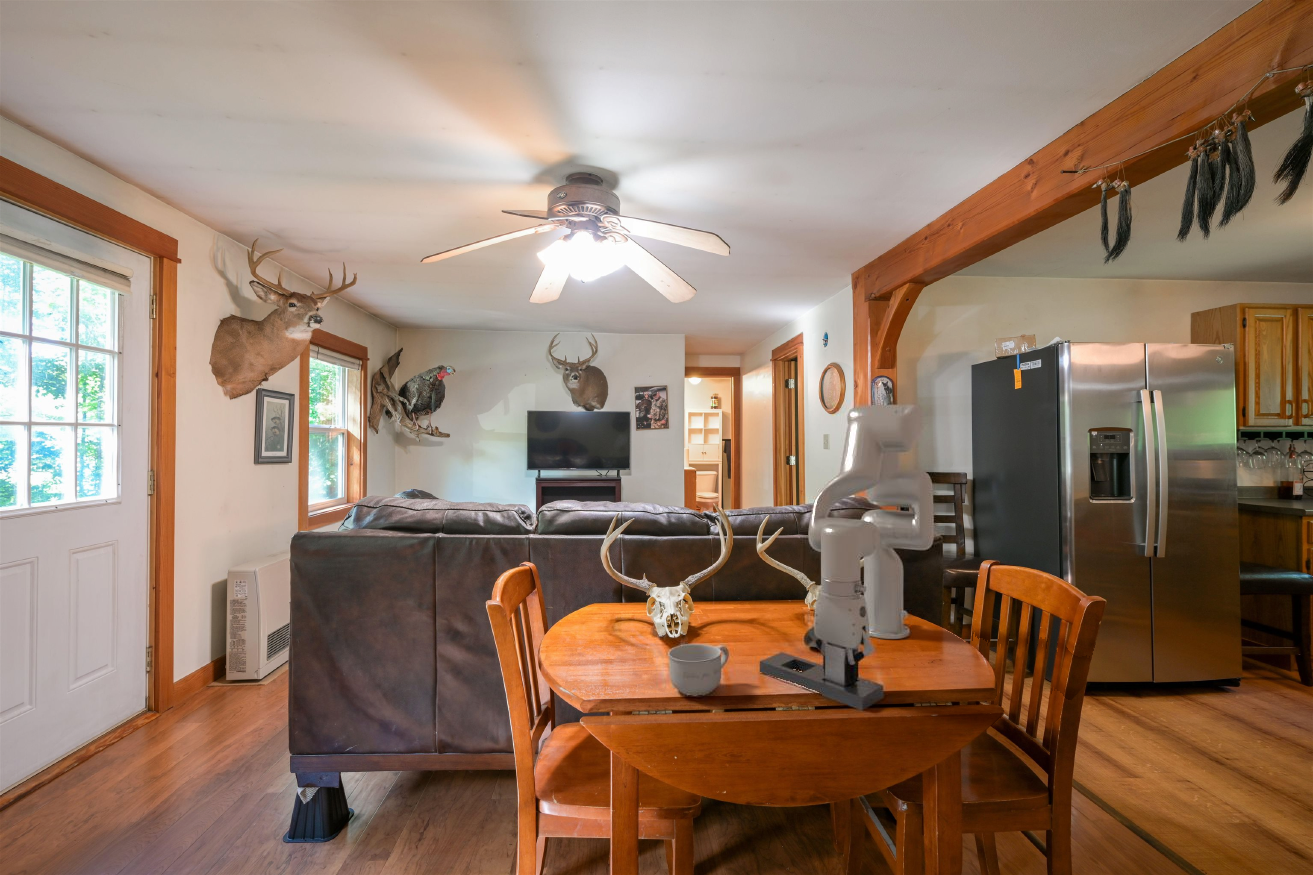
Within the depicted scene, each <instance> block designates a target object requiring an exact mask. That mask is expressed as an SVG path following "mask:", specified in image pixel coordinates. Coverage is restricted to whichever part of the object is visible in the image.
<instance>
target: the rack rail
mask: <svg viewBox="0 0 1313 875" xmlns="http://www.w3.org/2000/svg"><path fill="white" fill-rule="evenodd" d="M793 669H796V670H799V671H802V673H801V672H798V671H795V670H793ZM760 672H762V673H764V674H766V675H765V676H767V675H770V676H773V677H776V678H780V679H783V680H786V681H790V682H792V683H796V684H798V685H801V686H804V687H806V688H808V689H812V690H815V691H817V692H819V693H821V694H822V697H824V698H826V699H830V700H833V701H835V702H838V703H840V704H844V705H846V706H849V707H852V708H855V709H857V710H860V711H864V710H866V709H868V708H869V707H871V706H872V705H874V704H876V703H878V702H879V701H880V700H882V699H884V684H881V683H878V682H875V681H873V680H869V679H866V678H862V677H860V676H858V679H857V681H855V683H854V684H852V685H850V686H848V687H847V688H844V687H841V686H838V685H835V684H832V683H829V682H826V681H825V676H824V669H823V664H820V663H817V662H814V661H810V660H808V659H804V658H801V657H799V656H796V655H791V654H789V653H786V652H783V651H781V652H779V653H776V654H774V655H771V656H770V657H766V658H765V659H762V660H760V661H759V673H760ZM762 673H761V674H762ZM764 674H763V675H764ZM770 676H769V677H770Z"/></svg>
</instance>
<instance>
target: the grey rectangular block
mask: <svg viewBox="0 0 1313 875" xmlns="http://www.w3.org/2000/svg"><path fill="white" fill-rule="evenodd" d="M847 663H849V661H848V655H847V650H846V648H845V647H842V646H838V645H835V644H832V643H826V644H825V681H826V682H829V683H832V684H835V685H838V686H841V687H844V688H847V687H848V686H850V685H852V684H854V683H855V682H853V683H851V684H847V683H846V664H847Z"/></svg>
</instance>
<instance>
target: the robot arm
mask: <svg viewBox="0 0 1313 875" xmlns="http://www.w3.org/2000/svg"><path fill="white" fill-rule="evenodd" d="M846 418H847V429H846V432H845V433H846V434H845V439H844V446H843V449H842V450H843V452H842V458H841V463H840V470H839V472H838V474H837V475H836V476H835V477H833V478H832V479H831V480H829V481H828V483H826V484H825V485H824V487H823V488H822V489H821V490H820V491H819V493H818V494H817V496H816V497H815V500H814V501H813V504H812V507H811V513H810V519H809V525H808V534H807V535H808V543H809V545H810V547H812V549H814V550H815V551H817V552H819V553H820V589H821V590H819V591H818V593H817V596H816V603H815V610H814V625H813V626H812V627H813V628H812V627H811V628H812V629H811V631H810V632H809V636H810V637H811V638H812V639H813V641H814V642H816V645H817V646H818V648H819V649H820V650H819V649H818V648H817V649H818V650H819V651H820V652H819V653H820V655H821V656H822V665H823V669H824V676H825V644H826V643H832V644H835V645H838V646H842V647H845V648H846V650H847V655H848V661H849V663H847V664H846V683H847V684H851V683H853V682H855V681H857V679H858V677H859V663H860V662H861V661H862V660H863V659H864V658H866V657H868V656H869V655H872V654H874V653H875V652H876V650H875V647H874V645H873V643H872V642H871V640H870V638H871V637H873V638H877V639H883V640H885V639H886V640H898V639H899V640H900V639H904V638H906V637H909V636H910V628H909V627H908V626H907V625H904V619H907V618H908V616H909V614H908V612H907V610H904V565H903V561H902V560H901V558H900V556H899V555H898V554H897V553H896V551H895V549H904V550H915V551H926V550H928V549H930V548H931V547H932V545H933V543H934V539H935V538H934V537H935V524H934V523H935V521H934V520H935V519H934V518H935V516H934V490H933V482H932V479H931V476H930V475H929V473H927V472H926V471H924V470H920V469H907V468H906V469H903V468H901V467H900V453H907V452H910V451H912V450H913V448H914V447H915V445H916V443H917V442H918V440H919V439H920V437H921V435H922V432H923V431H924V430H923V429H924V421H925V420H924V415H923V412H922V410H921V408H920V407H918V405H916V404H915V405H914V404H866V405H859V406H855V407H851V408H850V409H849V410H848V412H847V417H846ZM863 492H865V496H866V500H867V501H868V502H869V503H870V504H872V505H875V506H876V505H877V506H881V507H882V506H884V507H897V508H908V509H909V508H910V510H911V511H909V510H908V511H906V510H897V509H895V510H894V509H883V508H881V509H878V508H877V509H871V510H868V511H865V512H864V514H862V516H861V519H854V518H853V519H851V518H846V517H845V518H841V517H830V516H828V515H829V513H830V511H831V510H832V508H833V507H834V506H835V505H837V503H839V502H840V501H842V500H844V499H846V498H849V497H852V496H854V495H857V494H860V493H863ZM861 558H863V582H864V583H863V584H862V580H861ZM860 645H862V647H863V650H860Z"/></svg>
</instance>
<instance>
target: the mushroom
mask: <svg viewBox="0 0 1313 875" xmlns="http://www.w3.org/2000/svg"><path fill="white" fill-rule="evenodd" d="M813 627H814V626H812V627H811V628H809V629H808V630H807V631H805V634H804V635H803V642H804V643H803V644H804V645H805V646H807V647H809V648H817V649H818V650H819V651H820V649H819V648H818V646H817V645H816V642H814V641H813V639H812V638H811V637H810V636H809V632H810V631H811V629H812V628H813Z"/></svg>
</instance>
